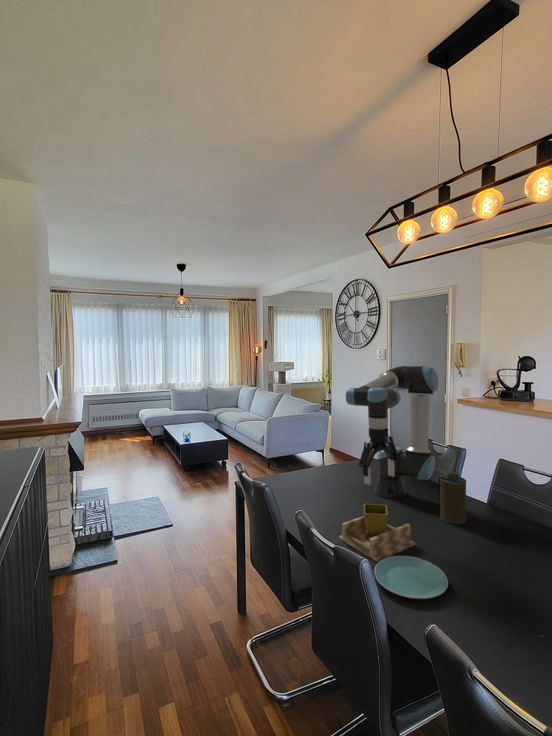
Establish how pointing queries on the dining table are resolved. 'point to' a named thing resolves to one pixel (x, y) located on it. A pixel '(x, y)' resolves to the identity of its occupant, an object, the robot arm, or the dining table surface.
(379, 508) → the flower pot
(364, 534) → the peg frame
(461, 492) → the canister
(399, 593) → the plate
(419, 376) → the robot arm
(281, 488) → the dining table surface
